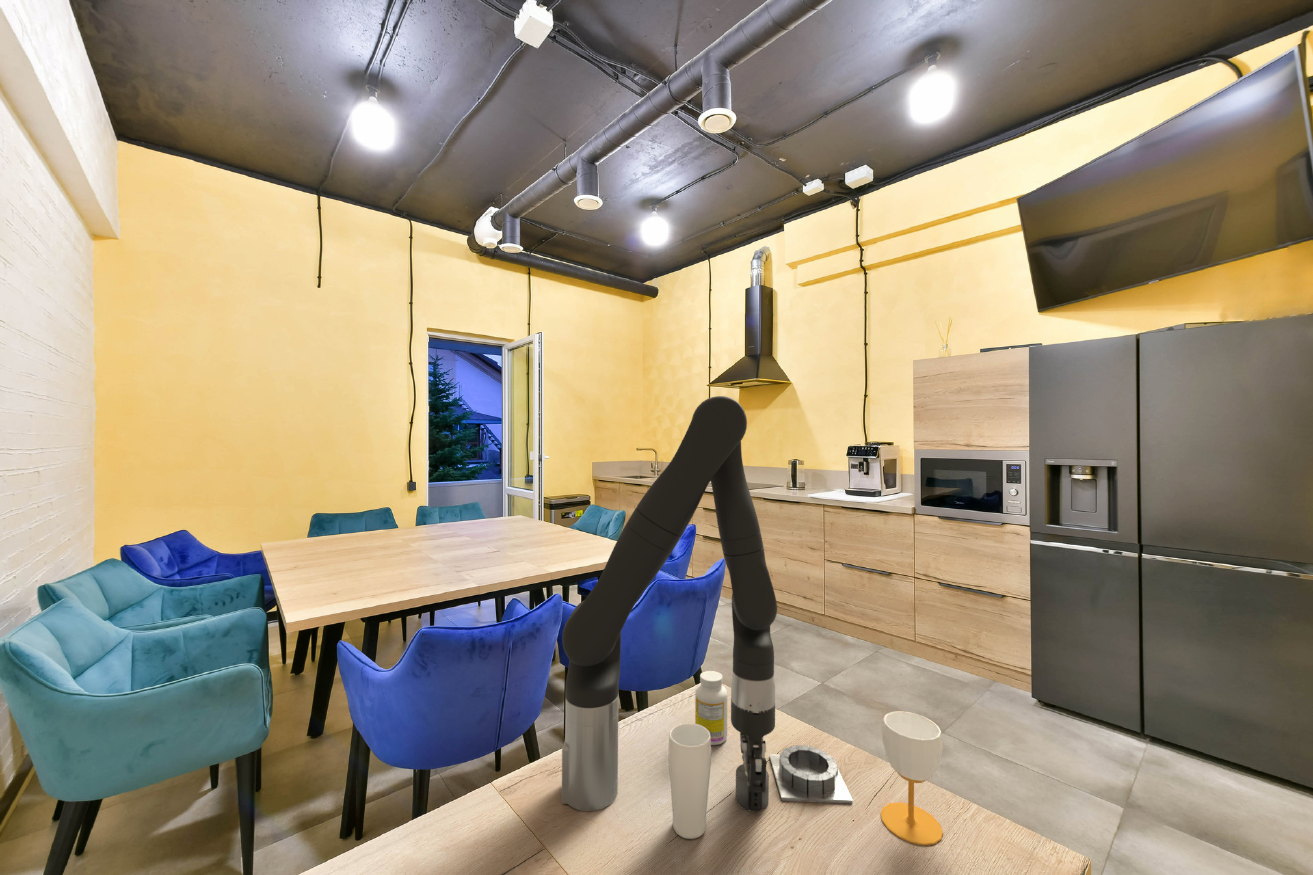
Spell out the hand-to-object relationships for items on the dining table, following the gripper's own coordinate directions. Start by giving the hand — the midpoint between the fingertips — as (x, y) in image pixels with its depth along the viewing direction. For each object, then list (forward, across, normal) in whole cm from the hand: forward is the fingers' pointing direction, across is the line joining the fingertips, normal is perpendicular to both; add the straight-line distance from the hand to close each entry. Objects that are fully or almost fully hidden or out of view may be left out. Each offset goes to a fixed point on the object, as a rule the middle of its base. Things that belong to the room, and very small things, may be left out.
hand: (752, 795), depth 88 cm
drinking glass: (+1, +7, -11) cm, 13 cm away
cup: (+1, +4, +25) cm, 25 cm away
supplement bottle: (+1, -18, -6) cm, 19 cm away
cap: (+1, 0, 0) cm, 1 cm away
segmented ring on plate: (+1, -6, +11) cm, 13 cm away
